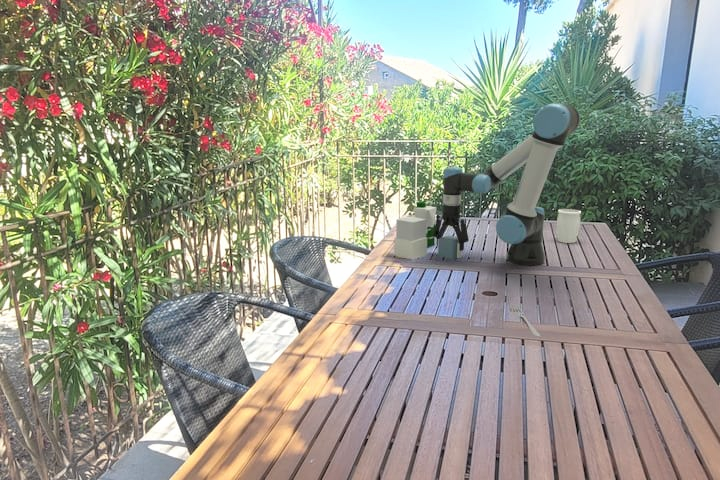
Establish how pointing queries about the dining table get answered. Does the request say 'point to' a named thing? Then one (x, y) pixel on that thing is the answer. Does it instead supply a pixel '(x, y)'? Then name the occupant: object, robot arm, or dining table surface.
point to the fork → (525, 320)
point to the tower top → (411, 228)
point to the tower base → (410, 248)
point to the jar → (568, 225)
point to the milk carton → (427, 220)
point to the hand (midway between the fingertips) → (449, 255)
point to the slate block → (448, 247)
